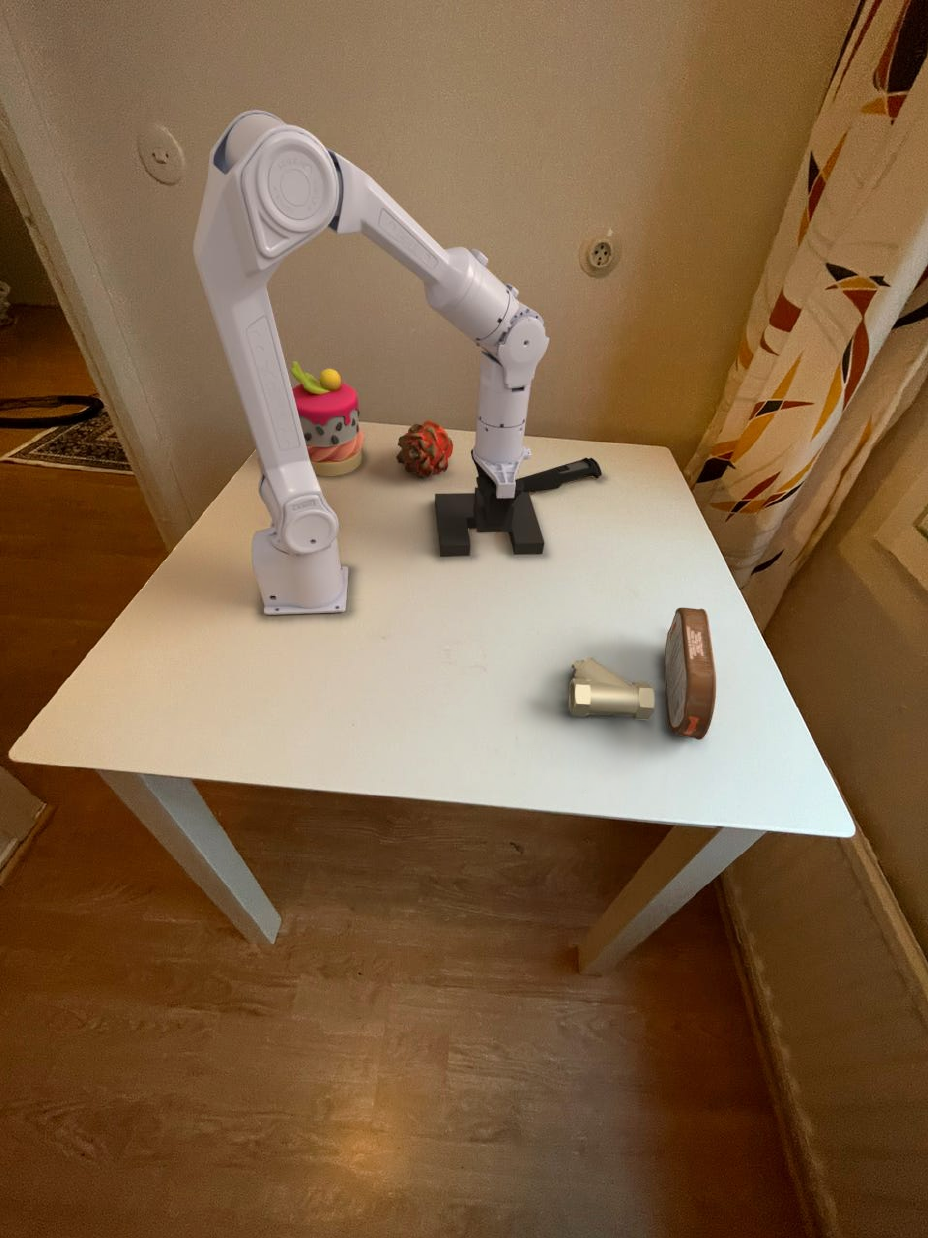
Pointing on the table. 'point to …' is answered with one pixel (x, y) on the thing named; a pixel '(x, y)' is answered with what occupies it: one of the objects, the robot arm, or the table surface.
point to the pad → (480, 516)
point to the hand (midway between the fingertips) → (492, 513)
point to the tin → (690, 674)
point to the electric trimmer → (561, 475)
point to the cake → (328, 421)
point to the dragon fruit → (425, 449)
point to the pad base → (459, 517)
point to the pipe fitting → (607, 693)
